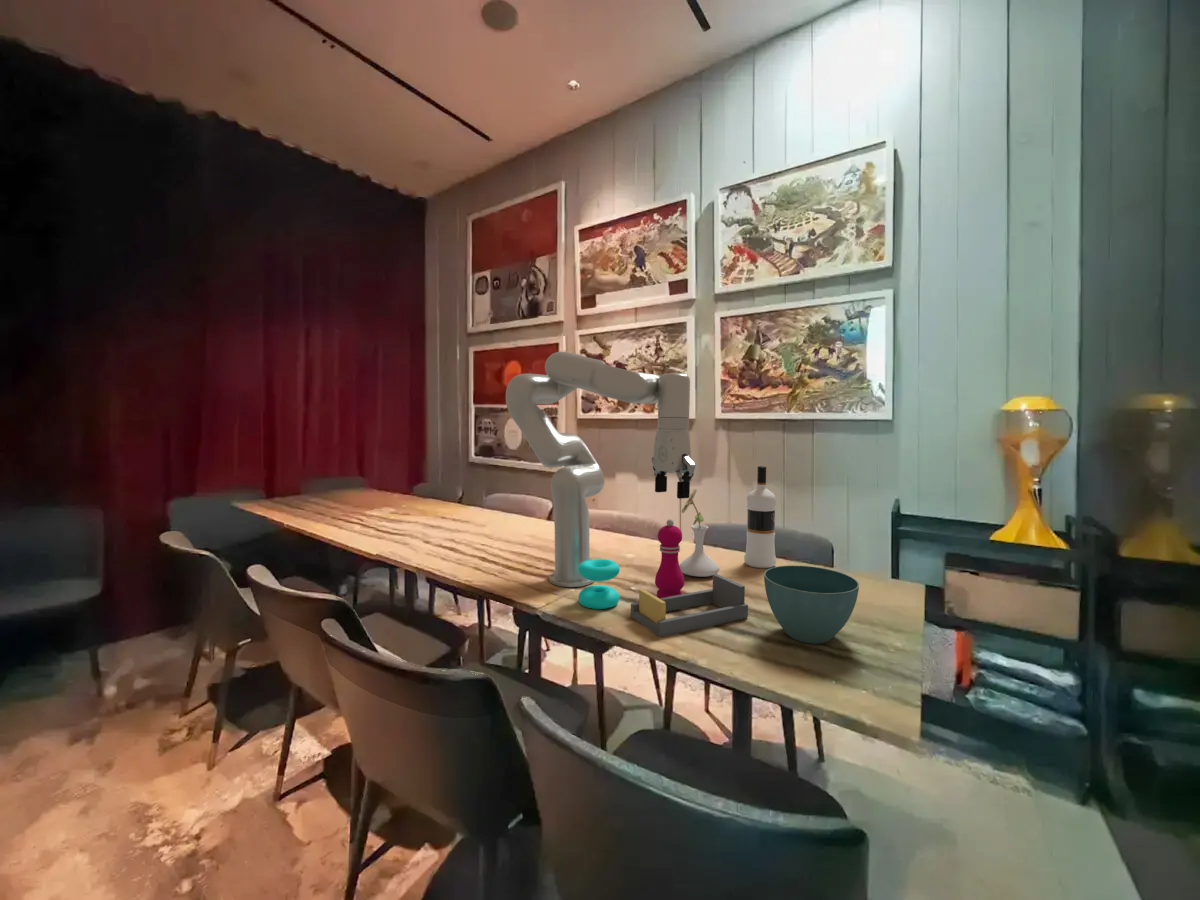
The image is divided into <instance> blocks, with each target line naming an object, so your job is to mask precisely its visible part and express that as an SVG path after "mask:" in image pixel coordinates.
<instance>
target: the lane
mask: <svg viewBox="0 0 1200 900" xmlns="http://www.w3.org/2000/svg"><path fill="white" fill-rule="evenodd" d="M745 588H746V586H745V585H743V584H741V583H739V582H736V581H734V580H732V579H729V578H727V577H724V576H723V575H720V574H718V573H717V574H714V575H712V588H709V589H706V590H705V589H704V590H700V591H693V592H687V593H682V594H681V595H676V596H670V597H665V598H659V599H661V600H663V601H664V602H666V613H667V612H668V611H669V612H673V611H672V610H674V611H678V610H677V609H679V610H683V609H682V608H684V609H687V608H688V607H689V608H693V607H692V606H694V607H698V606H697V605H700V606H703V605H702V604H705V605H708V604H707V603H710V604H713V603H715V604H716V606H717V605H719V606H721V607H722V608H721V607H719V606H718V607H719V608H715V609H711V610H704V611H699V612H695V613H690V614H685V615H680V616H675V617H670V618H666V619H664V620H659V621H657V623H655V622H654V621H652V620H651V619H649V618H648V617H646V616H645V615H643V614H642V613H640V612H639V601H638V602H637V601H636V602H632V603H630V617H631V618H632V617H633V618H632V619H634V620H635V621H636V620H637V622H638V623H639V622H640V624H641V625H642V626H644V627H645V628H646V629H648V630H650V632H651V633H653V634H655V635H656V636H658V637H659V638H661V637H667V636H671V635H676V634H680V633H685V632H690V630H691V631H695V630H700V629H704V628H708V627H713V626H717V625H722V623H723V624H726V622H728V623H731V621H732V622H735V621H734V620H737V621H739V620H738V619H741V620H743V619H742V618H746V619H748V618H749V605H748V604H747V603H745V601H746V600H745V599H746V598H745V594H746V591H745V590H746V589H745ZM712 602H713V603H712ZM715 604H714V605H715ZM747 617H748V618H747ZM699 628H700V629H699Z"/></svg>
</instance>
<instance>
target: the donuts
mask: <svg viewBox="0 0 1200 900" xmlns="http://www.w3.org/2000/svg"><path fill="white" fill-rule="evenodd" d="M620 569H621V567H620V565H619V564H618V563H617V562H616V561H614V560H612V559H607V558H592V559H590V560H586V561H584V562H582V563H581V564H580V565H579V568H578V571H579V574H580V575H581V576H582V577H583V578H585V579H588V580H592V581H594V582H605V581H610V580H612V579H614V578H616V577H617V576H618V575H619V573H620V571H621V570H620ZM577 599H578V602H579V603H580V604H581V605H582V606H583V607H585V608H588V609H591V608H592V609H593V610H606V609H611V608H613V607H615V606H616V605H618V604H619V602H620V593H619V592H618V590H616V589H615V588H613V587H611V586H609V585H602V584H599V585H598V584H595V585H590V586H589V585H588V586H587V587H584V588H583V589H582V590H581V591H580V592H579V593H578V598H577ZM592 609H591V610H592Z"/></svg>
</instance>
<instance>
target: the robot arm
mask: <svg viewBox="0 0 1200 900" xmlns="http://www.w3.org/2000/svg"><path fill="white" fill-rule="evenodd" d="M544 371H545V373H546V374H541V373H540V374H539V373H538V374H537V373H521V374H518V375H516V376H513V377H512V378H511V380H509V382H508V384H507V386H506V390H505V405H506V408H507V410H508V413H509V415H510V417H511V418H512V420H513V421H514V423H515V424H516V425H517V427H518V429H520V431H521V433H522V435H523V436H524V437H525V440H526V441H527V443H528V444H529V446H530V448H531V450H532V452H533V453H534V454H535V455H534V456H535V457H536V458H537V459H538V461H539V462H540V463H541V465H542V466H544V467H546V468H548V469H550V468H551V469H552V468H559V469H558V470H556V471H555V473H554V474H553V475H552V477H551V479H550V491H551V498H552V502H553V515H554V516H553V517H554V520H553V521H554V524H553V525H554V572H552V573H551V574H550V575H549V577H548V578H549V583H550V584H552V585H555V586H558V587H563V588H579V587H584V586H589V585H591V584H593V583H594V582H595V581H592V580H588V579H585V578H583V577H582V576H581V575H580V574H579V571H578V568H579V565H580V564H581V563H582V562H584V561H586V560H590V558H591V557H590V512H589V508H588V505H587V501H586V498H590V497H593V496H596V495H598V494H599V493H600V492H601V491H602V490H603V488H604V486H605V476H604V473H603V470H602V467H600V464H599V463H598V462H597V460H596V458H595V457H594V455H593V454H592V451H590V450H589V448H588V446H587V444H586V443H585V442H584V441H583V440H582V438H581V437H580V436H578V435H576V433H575V434H574V433H572V432H560V431H558V430H557V428H556V427H555V425H554V423H553V422H552V421H551V419H550V417H549V416H548V415H547V413H545V412H544V411H543V410H542V409H541V408H540V407H539V406H538V405H552V404H555V403H557V402H559V401H560V400H562V399H563V398H565V397H566V396H568V395H569V394H571V393H572V392H573V391H575V390H577V389H580V390H583V391H587V392H591V393H594V394H596V395H600V396H603V397H607V398H609V399H614V400H616V401H617V400H618V401H621V402H624V403H628V404H634V405H635V404H641V405H649V404H650V405H651V404H657V429H656V434H655V438H654V443H653V444H654V445H653V457H651V461H652V462H651V463H652V469H653V471H654V472H653V475H654V492H655V493H667V491H668V476H667V473H670V474H674V473H675V474H676V476H677V478H678V481H677V483H676V485H677V487H676V498H677V499H681V500H682V499H689V498H690V495H691V493H690V488H691V487H690V486H691V485H690V484H691V482H692V478H693V477H694V472H695V470H696V467H697V466H696V464H695V462H694V461H693V460H692V459H691V457H692V454H691V439H690V432H689V430H690V405H691V404H690V403H691V401H690V399H691V398H690V395H691V392H690V391H691V378H690V376H689V375H688V374H686V373H678V372H677V373H676V372H674V373H673V372H672V373H663V374H654V373H648V372H642V371H641V372H640V371H634V370H628V369H623V368H619V367H616V366H612V365H608V364H606V362H605V361H604V360H601V359H596V358H593V357H589V356H583V355H581V354H580V353H573V352H566V351H557V352H554V353H552V354H550V355H549V356H548V357H547V359H546V360H545V364H544ZM560 467H562V468H560Z"/></svg>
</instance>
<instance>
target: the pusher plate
mask: <svg viewBox="0 0 1200 900" xmlns="http://www.w3.org/2000/svg"><path fill="white" fill-rule="evenodd" d="M638 594H639V595H638V598H639V599H638V602H639V612H640V613H642V614H643V615H645V616H646V617H648V618H649V619H651V620H652V621H654V622H655V623H657V621H659V620H664V619H667V618H666V613H667V612H666V602H664V601H663V600H661V599H659V598H658V597H657V595H655V594H652V593H651V592H649V591H647V590H645V589H644V588H641V589H638Z"/></svg>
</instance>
